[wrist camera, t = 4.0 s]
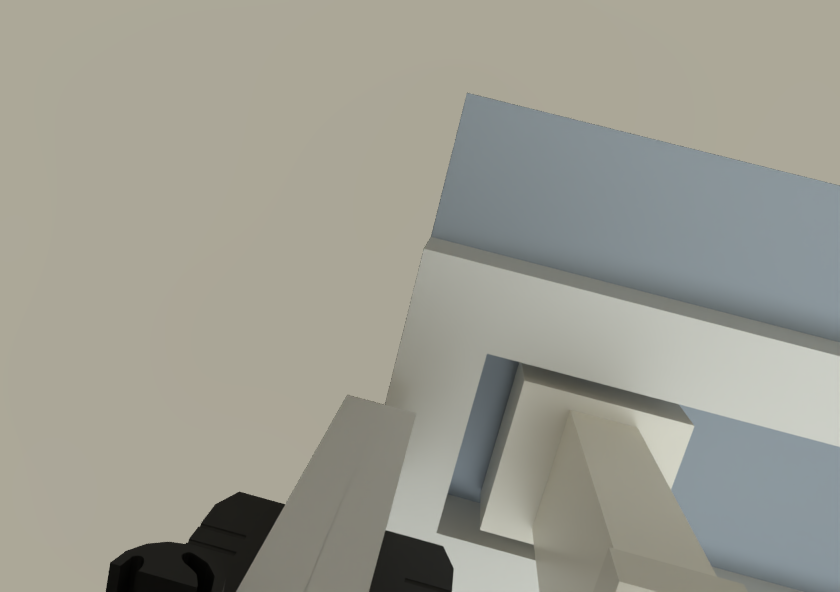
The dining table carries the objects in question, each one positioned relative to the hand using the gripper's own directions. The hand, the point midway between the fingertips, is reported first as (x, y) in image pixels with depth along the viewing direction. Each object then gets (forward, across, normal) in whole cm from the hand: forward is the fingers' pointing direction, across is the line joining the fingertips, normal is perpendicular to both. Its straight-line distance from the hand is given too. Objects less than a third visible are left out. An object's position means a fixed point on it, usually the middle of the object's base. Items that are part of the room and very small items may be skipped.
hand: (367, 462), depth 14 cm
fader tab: (+4, -5, 0) cm, 6 cm away
